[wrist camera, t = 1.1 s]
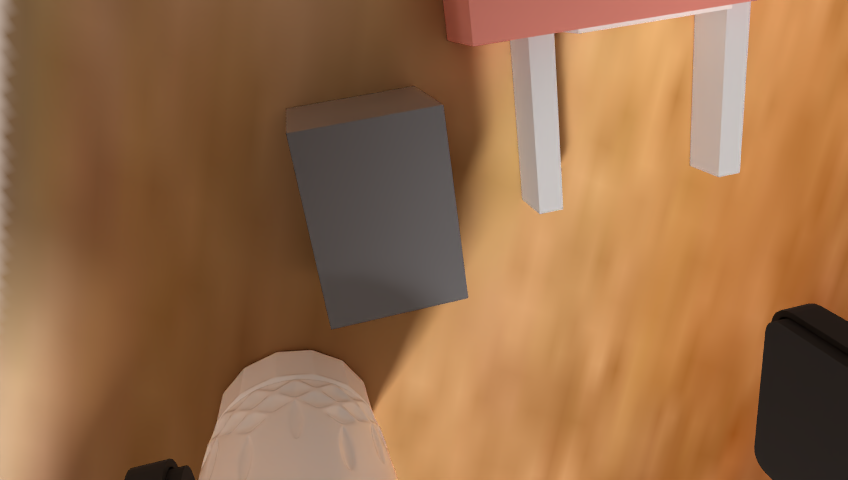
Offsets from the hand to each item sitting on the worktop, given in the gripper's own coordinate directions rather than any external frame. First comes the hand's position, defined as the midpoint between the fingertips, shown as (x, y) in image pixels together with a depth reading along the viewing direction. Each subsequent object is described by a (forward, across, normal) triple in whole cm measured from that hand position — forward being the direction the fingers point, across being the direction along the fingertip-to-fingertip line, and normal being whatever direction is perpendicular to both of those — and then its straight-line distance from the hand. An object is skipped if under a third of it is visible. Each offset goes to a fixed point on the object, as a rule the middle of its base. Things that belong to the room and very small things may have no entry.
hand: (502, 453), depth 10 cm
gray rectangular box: (+17, 0, 0) cm, 17 cm away
